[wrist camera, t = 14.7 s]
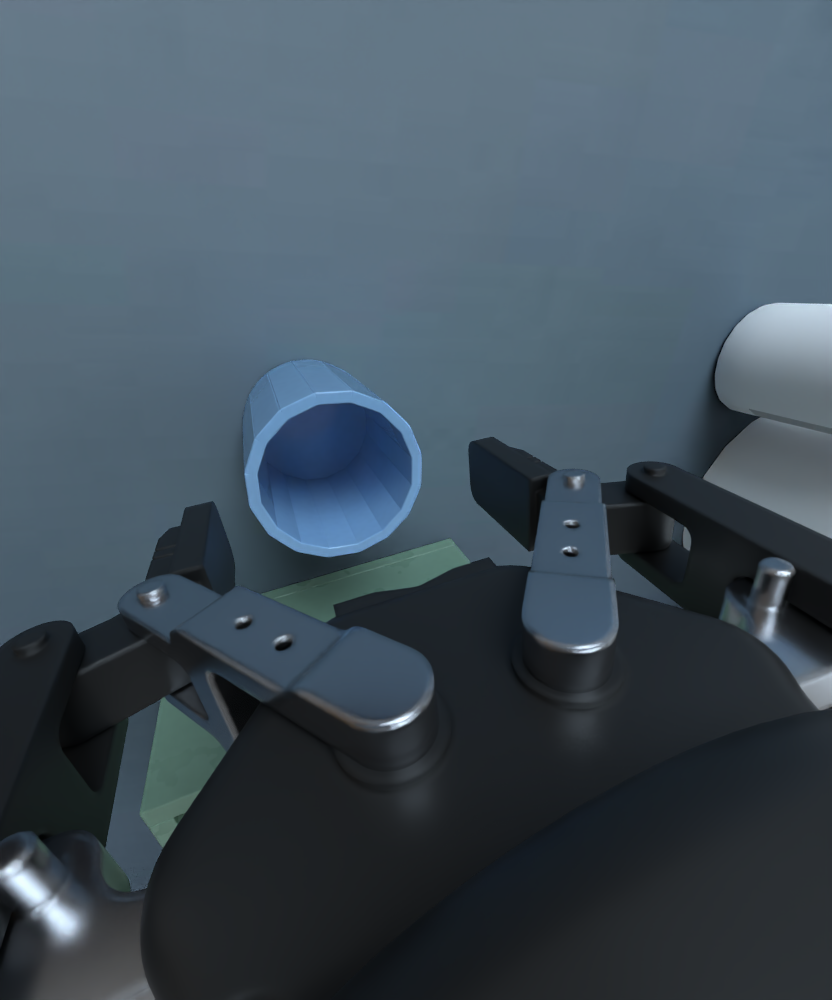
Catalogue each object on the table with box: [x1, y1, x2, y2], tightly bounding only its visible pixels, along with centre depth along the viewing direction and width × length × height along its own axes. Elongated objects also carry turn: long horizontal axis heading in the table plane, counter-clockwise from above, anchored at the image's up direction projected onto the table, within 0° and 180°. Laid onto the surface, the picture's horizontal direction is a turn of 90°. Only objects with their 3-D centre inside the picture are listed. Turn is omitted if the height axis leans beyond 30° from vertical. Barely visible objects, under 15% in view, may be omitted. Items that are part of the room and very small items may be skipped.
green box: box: [140, 538, 471, 848], centre depth 24 cm, size 16×13×10 cm
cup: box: [242, 359, 422, 557], centre depth 19 cm, size 6×6×8 cm
